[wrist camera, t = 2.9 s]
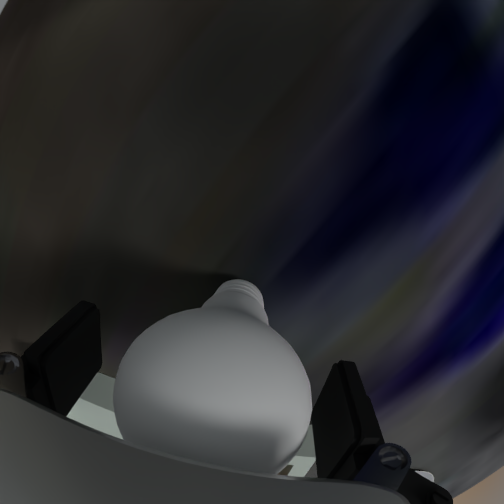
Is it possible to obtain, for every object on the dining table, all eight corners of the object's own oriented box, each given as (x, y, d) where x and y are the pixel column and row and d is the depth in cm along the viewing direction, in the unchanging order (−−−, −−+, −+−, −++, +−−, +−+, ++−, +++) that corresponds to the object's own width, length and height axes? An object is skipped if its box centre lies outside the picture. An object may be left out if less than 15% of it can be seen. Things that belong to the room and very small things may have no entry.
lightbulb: (308, 331, 17) (329, 517, 6) (205, 350, 18) (147, 515, 7) (283, 226, 15) (294, 384, 5) (169, 254, 16) (36, 395, 6)
